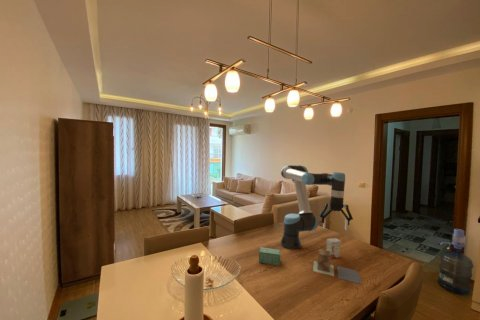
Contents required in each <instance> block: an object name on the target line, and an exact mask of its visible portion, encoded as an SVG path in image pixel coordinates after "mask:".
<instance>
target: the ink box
mask: <svg viewBox="0 0 480 320" xmlns="http://www.w3.org/2000/svg"><path fill="white" fill-rule="evenodd" d="M341 246H342V240H340V239H338V238H336V237H333V238H327V239H326V246H325V250H326V251H330V252H331V259H334V258H333V257H336V258H340V257H339V256H341Z"/></svg>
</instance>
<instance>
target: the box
mask: <svg viewBox="0 0 480 320" xmlns="http://www.w3.org/2000/svg"><path fill="white" fill-rule="evenodd" d="M258 253H259V254H258V263H261V264H266V265H274V266H278V267H279V266H280V263H281V249H276V248H270V247H269V248H268V247H263V246H260V247H259V252H258Z"/></svg>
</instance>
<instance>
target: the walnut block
mask: <svg viewBox="0 0 480 320" xmlns="http://www.w3.org/2000/svg"><path fill="white" fill-rule="evenodd" d="M331 259H332V258H331V252H330V251H326V249H321V248H319V249H318V256H317V262H318V267H317V269H318V270H322V271H326V272H330V265H331V261H332V260H331Z"/></svg>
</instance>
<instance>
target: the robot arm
mask: <svg viewBox="0 0 480 320" xmlns="http://www.w3.org/2000/svg"><path fill="white" fill-rule="evenodd" d="M280 175H281V177H282V178H284V179H287V180H292V183H293V184H294V186H295V187H294V188H295V193H296V198H297V205H298V210H299V212H298V213H288V214H286V215H285V216H284V219H283V234H282V236H281V239H280V245H281V246H282V247H283V248H285V249H288V250H298V249H299V250H300V248H301V246H302V245H301V244H302V243H301V240H300V232H311V231H316V230H317V228H318V226H319V219H318V217H317V216H316V215H314V212H313V211H312V210H311V204H310V201H309V194H308V191H307V186H315V185H316V186H317V185H319V186H321V185H322V186H323V185H324V186H331V190H330V203H327V202H324V203H325V204H324V206H323V207H322V209H321V211H320V212H319V214H318V216H319V217H320V218H321V223H322V228H323V229H326V223H327V219H326V217H328V216H329V215H330V214H331V213H332V212H333V211H334V212H341V214H342V215H343V216H344V217H345V218H346V219H344V230H345V231H346V232H347V231H348V228H349V227H348V226H349V225H350V222H351V221H352V220H354V218H353V216H352V213H351V211H350V208H349V205H348V204H344V197H345V187H346V186H345V184H346V174H345V173H344V172H337V171H336V172H335V171H333V172H332V173H327V172H326V173H325V172H323V173H312V172H309V171H308V169H307V167H306V166H305V165H304V166H303V165H293V164H292V165H291V164H290V165H288V164H287V165H284V166H283V167H282V168H281V169H280ZM306 185H307V186H306ZM328 207H329V208H328ZM344 208H345V211H346V212H345V211H344ZM327 209H328V210H327ZM346 213H347V214H346Z"/></svg>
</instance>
